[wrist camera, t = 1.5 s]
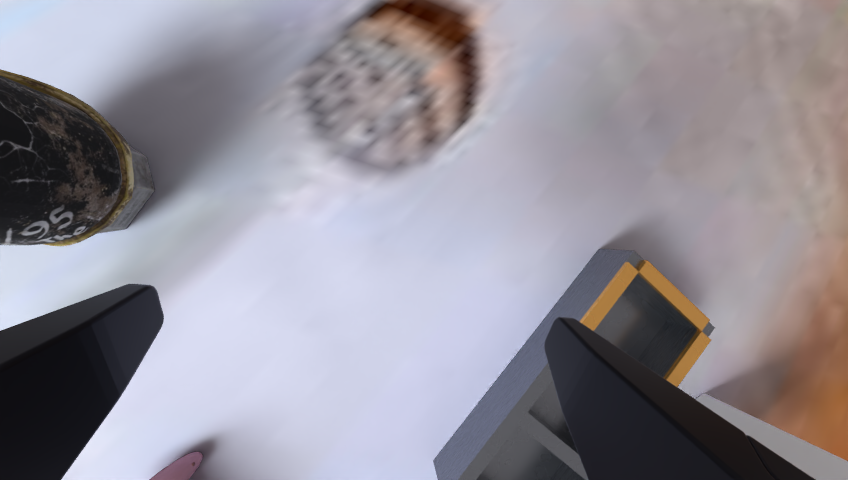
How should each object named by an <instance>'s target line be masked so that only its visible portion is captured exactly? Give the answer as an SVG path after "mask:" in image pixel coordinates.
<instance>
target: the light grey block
mask: <svg viewBox="0 0 848 480" xmlns="http://www.w3.org/2000/svg"><path fill="white" fill-rule="evenodd" d="M695 400H697V401H698V402H700V403H701V404H703V405H704V406H706V407H707V408H709V409H710V410H712V411H713V412H715V413H716V414H718V415H719V416H721V417H722V418H724V419H725V420H727V421H728V422H730V423H731V424H733V425H734V426H736V427H737V428H739V429H740V430H742V431H743V432H744V433H745V435H749V436H751V437H752V438H754V439H755V440H757V441H758V442H760V443H761V444H763V445H764V446H766V447H767V448H769V449H770V450H772V451H773V452H774V453H776V454H778V455H779V456H781V457H782V458H784V459H785V460H787V461H788V462H790V463H791V464H793V465H794V466H796V467H797V468H799V469H800V470H802V471H803V472H805V473H806V474H808V475H809V476H811V477H813V478H814V479H816V480H848V461H846V460H844V459H842V458H840V457H837V456H835V455H833V454H831V453H829V452H827V451H825V450H823V449H821V448H819V447H816V446H814V445H812V444H810V443H808V442H806V441H804V440H802V439H800V438H798V437H795V436H793V435H791V434H789V433H787V432H785V431H783V430H781V429H779V428H777V427H774V426H772V425H770V424H768V423H766V422H764V421H762V420H760V419H758V418H755V417H753V416H751V415H749V414H747V413H745V412H743V411H741V410H739V409H737V408H734V407H732V406H730V405H728V404H726V403H724V402H722V401H720V400H718V399H716V398H713V397H711V396H709V395H707V394H705V393H704V394H702V395H701V396H699V397H698V398H696V399H695Z"/></svg>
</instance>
